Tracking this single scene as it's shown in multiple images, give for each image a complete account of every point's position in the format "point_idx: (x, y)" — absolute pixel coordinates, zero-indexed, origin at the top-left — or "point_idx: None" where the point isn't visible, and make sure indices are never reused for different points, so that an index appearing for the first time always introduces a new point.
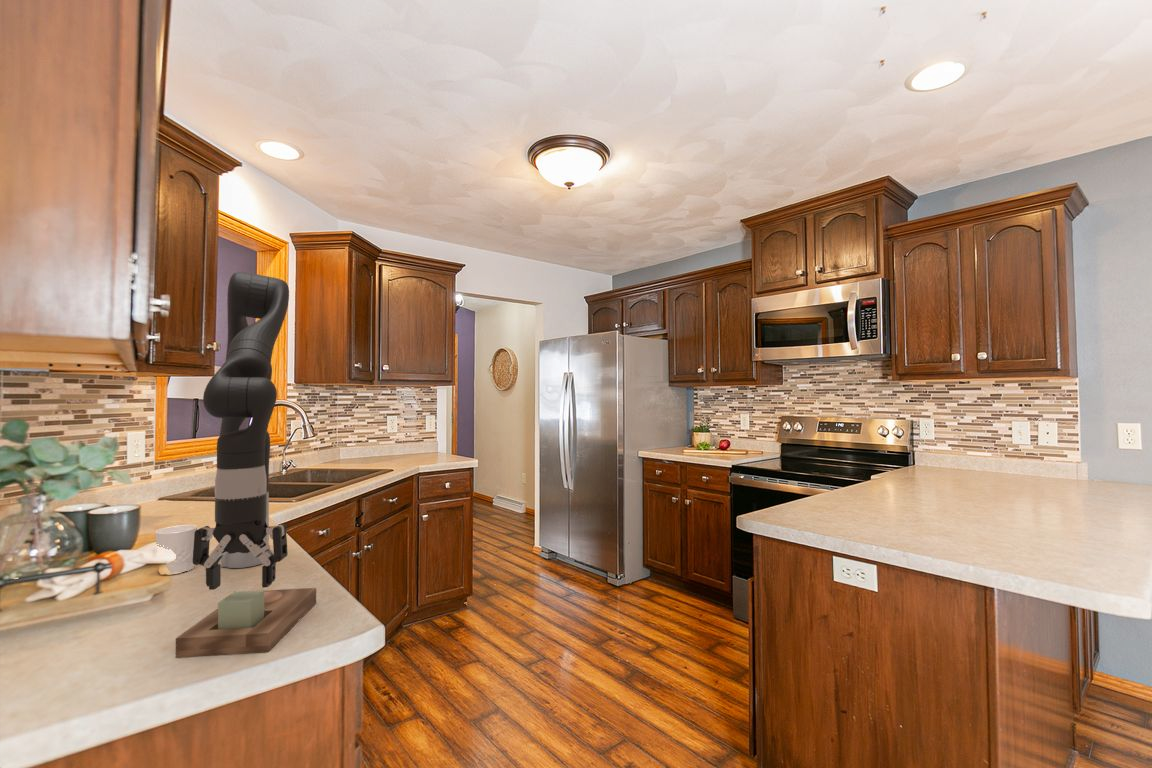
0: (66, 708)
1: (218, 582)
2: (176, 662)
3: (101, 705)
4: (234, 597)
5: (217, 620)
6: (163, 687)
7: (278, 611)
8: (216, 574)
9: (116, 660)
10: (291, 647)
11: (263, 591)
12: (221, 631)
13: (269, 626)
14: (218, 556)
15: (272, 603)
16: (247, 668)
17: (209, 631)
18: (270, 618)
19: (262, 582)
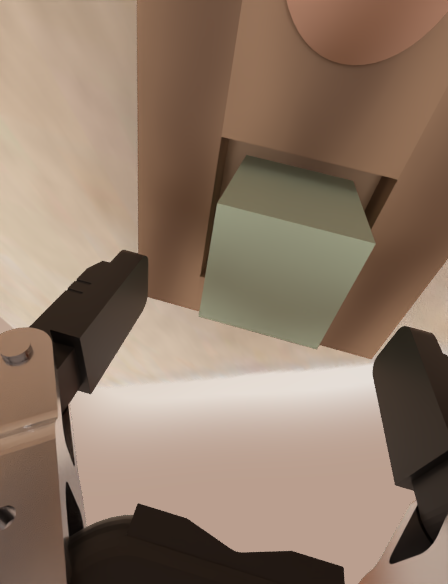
0: None
1: (137, 279)
2: None
3: (137, 372)
4: (244, 286)
5: (197, 208)
6: (197, 364)
7: (418, 203)
8: (112, 331)
9: (35, 230)
10: (421, 323)
11: (370, 247)
12: None
13: (375, 323)
14: (81, 500)
15: (402, 67)
16: (322, 366)
17: None
18: (381, 263)
19: (377, 391)
